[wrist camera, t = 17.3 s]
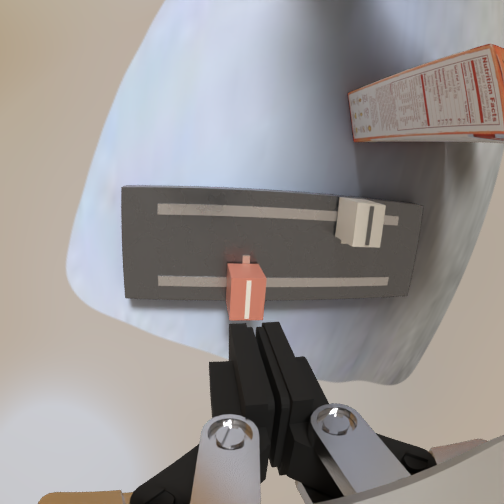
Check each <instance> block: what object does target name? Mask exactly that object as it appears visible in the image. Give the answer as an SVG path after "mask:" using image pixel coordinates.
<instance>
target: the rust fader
mask: <svg viewBox="0 0 504 504" xmlns="http://www.w3.org/2000/svg"><path fill="white" fill-rule="evenodd" d="M266 280H267V278H266V276H265V275H264V273H263V271H262V269H261V268H260V266H259V264H233V263H227V285H226V305H227V310H228V315H229V320H263V314H264V303H265V292H266Z"/></svg>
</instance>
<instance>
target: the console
mask: <svg viewBox="0 0 504 504" xmlns="http://www.w3.org/2000/svg"><path fill="white" fill-rule="evenodd" d="M339 197H346V198H357V199H366V200H369V201H373V202H376V203H380V204H383V205H386V208H385V216H384V223H383V230H382V237H381V244H380V248H376V247H352V246H350V245H349V244H347V243H345V242H344V241H342V240H340V239H339V238H337V237H335V233H336V225H337V216H338V207H339ZM121 212H122V252H123V272H124V287H125V298H134V299H166V300H226V285H227V263H233V264H259V266H260V268H261V269H262V271H263V273H264V275H265V276H266V278H267V280H266V292H265V300H318V299H350V298H374V297H394V296H407V294H408V290H409V286H410V281H411V276H412V272H413V267H414V262H415V256H416V251H417V245H418V240H419V234H420V227H421V221H422V214H423V206H422V205H418V204H415V203H408V202H400V201H391V200H383V199H374V198H364V197H354V196H344V195H333V194H322V193H310V192H297V191H283V190H267V189H249V188H228V187H201V186H151V185H126V186H123V187H122V197H121Z"/></svg>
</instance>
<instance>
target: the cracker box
mask: <svg viewBox="0 0 504 504" xmlns="http://www.w3.org/2000/svg"><path fill="white" fill-rule="evenodd" d="M348 99H349V107H350V115H351V123H352V131H353V140H354V142H488V143H504V49H503V48H501V47H499V46H496V45H494V44H487V45H483V46H480V47H477V48H473V49H470V50H467V51H463V52H459V53H456V54H453V55H450V56H447V57H444V58H440V59H437V60H434V61H431V62H428V63H425V64H422V65H420V66H417V67H414V68H411V69H408V70H405V71H403V72H400V73H397V74H394V75H392V76H389V77H386V78H384V79H381V80H379V81H376V82H374V83H371V84H369V85H366V86H364V87H362V88H359V89H356V90H354V91H351V92H349V93H348Z"/></svg>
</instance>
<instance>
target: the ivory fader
mask: <svg viewBox="0 0 504 504" xmlns="http://www.w3.org/2000/svg"><path fill="white" fill-rule="evenodd" d="M385 208H386V205H383V204H380V203H376V202H373V201H369V200H366V199H357V198H346V197H339V207H338V216H337V225H336V233H335V237H337V238H339V239H340V240H342V241H344V242H345V243H347V244H349V245H350V246H352V247H376V248H380V244H381V237H382V230H383V223H384V216H385Z"/></svg>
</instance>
